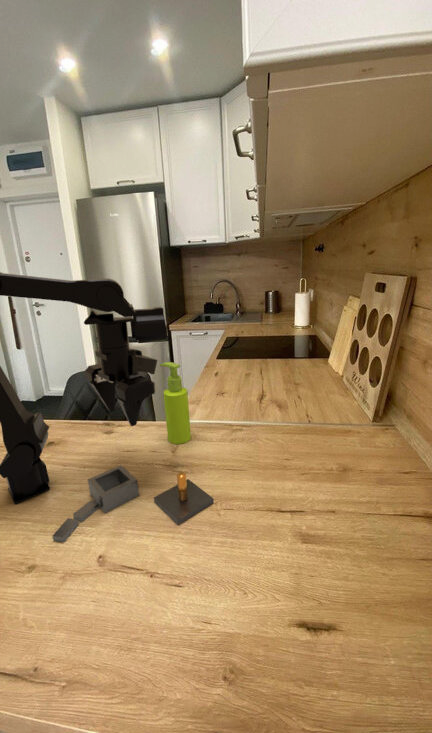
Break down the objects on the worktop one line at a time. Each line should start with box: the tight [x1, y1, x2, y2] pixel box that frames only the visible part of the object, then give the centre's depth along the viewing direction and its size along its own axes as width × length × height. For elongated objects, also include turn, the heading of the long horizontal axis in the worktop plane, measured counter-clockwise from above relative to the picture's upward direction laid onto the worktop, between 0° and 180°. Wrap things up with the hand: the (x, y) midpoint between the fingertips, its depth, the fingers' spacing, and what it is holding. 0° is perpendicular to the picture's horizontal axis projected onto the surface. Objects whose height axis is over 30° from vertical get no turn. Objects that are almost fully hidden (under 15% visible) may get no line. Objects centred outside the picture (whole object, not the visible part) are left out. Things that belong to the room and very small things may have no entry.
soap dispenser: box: [159, 361, 192, 445], centre depth 82 cm, size 6×7×20 cm
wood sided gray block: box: [52, 517, 80, 543], centre depth 56 cm, size 4×2×1 cm, turn 168°
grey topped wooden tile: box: [72, 499, 100, 523], centre depth 60 cm, size 4×2×1 cm, turn 151°
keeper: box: [153, 471, 215, 526], centre depth 61 cm, size 8×8×6 cm
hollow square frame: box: [87, 464, 140, 514], centre depth 64 cm, size 7×7×4 cm
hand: (122, 418), depth 68 cm, fingers open, 9 cm apart
